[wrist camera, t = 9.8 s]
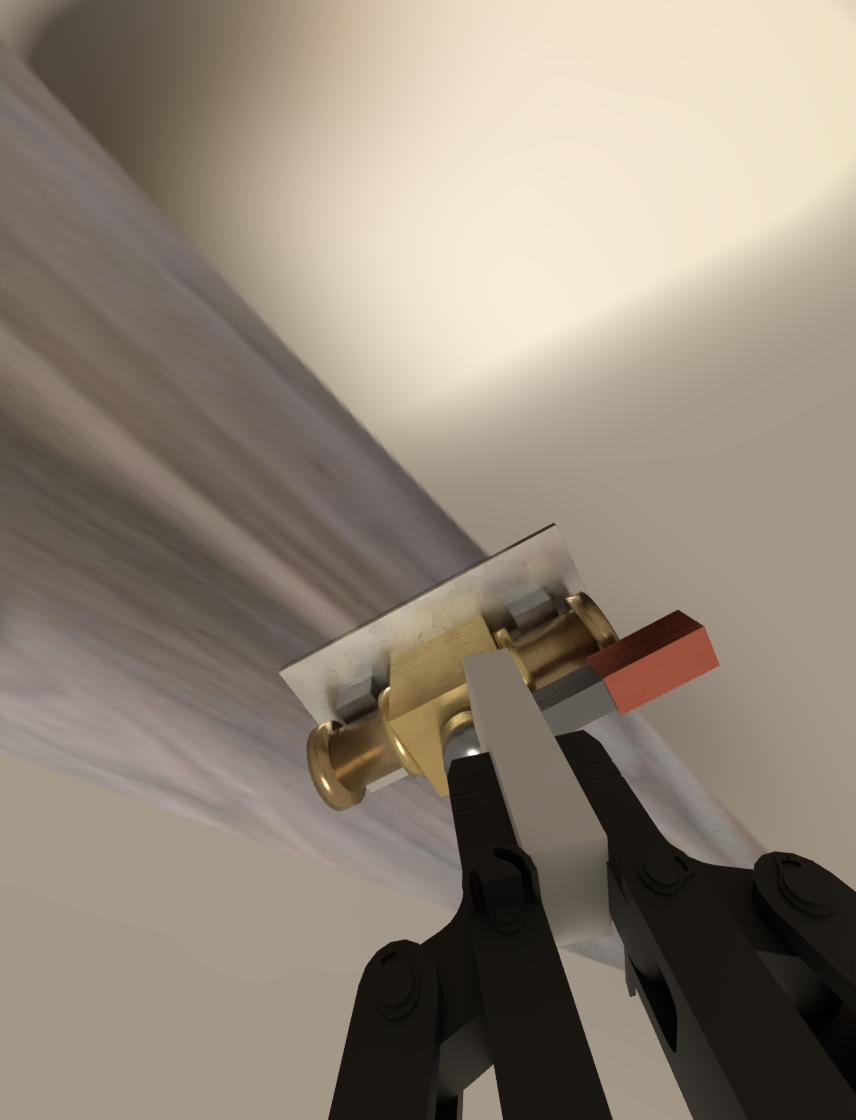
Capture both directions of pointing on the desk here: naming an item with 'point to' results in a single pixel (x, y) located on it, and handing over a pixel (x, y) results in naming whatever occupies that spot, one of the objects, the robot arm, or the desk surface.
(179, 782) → the desk surface
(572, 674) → the lever
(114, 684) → the desk surface
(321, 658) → the valve body
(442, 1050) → the robot arm
